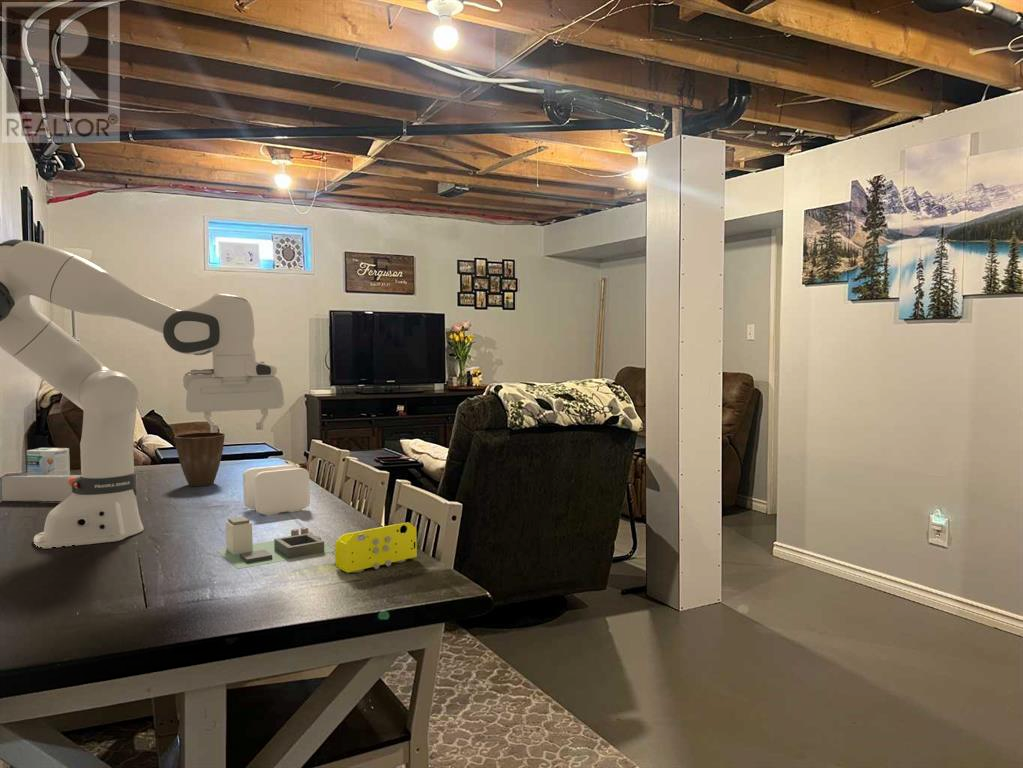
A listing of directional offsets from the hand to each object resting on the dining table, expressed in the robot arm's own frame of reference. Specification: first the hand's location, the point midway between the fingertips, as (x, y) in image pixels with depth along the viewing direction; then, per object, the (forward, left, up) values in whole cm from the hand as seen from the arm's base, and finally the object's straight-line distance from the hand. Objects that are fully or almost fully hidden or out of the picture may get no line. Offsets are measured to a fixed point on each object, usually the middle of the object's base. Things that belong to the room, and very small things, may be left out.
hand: (237, 431), depth 162 cm
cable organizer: (+18, +31, -26) cm, 44 cm away
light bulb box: (-28, +120, -26) cm, 126 cm away
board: (+3, -13, -26) cm, 29 cm away
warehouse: (-25, +86, -27) cm, 94 cm away
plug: (-3, -8, -24) cm, 26 cm away
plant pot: (+11, +83, -26) cm, 87 cm away
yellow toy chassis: (+18, -31, -26) cm, 44 cm away
